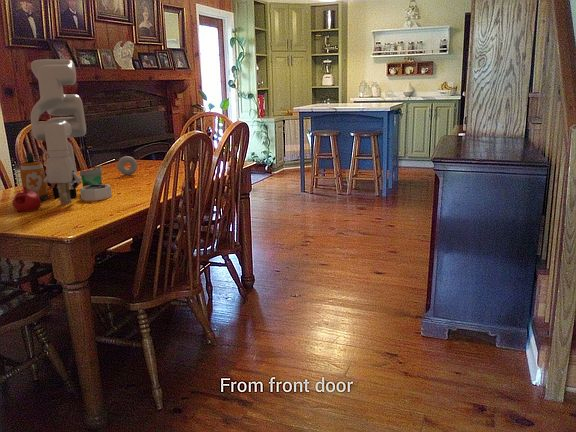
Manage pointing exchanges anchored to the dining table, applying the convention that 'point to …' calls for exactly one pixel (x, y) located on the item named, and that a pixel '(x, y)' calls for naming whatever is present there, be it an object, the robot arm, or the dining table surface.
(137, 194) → the dining table surface
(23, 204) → the pomegranate
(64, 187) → the grey rectangular block
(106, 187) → the white octagonal tray
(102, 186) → the hollow square tube
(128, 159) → the donut
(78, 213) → the dining table surface
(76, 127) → the robot arm
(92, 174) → the food container
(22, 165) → the canister
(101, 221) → the dining table surface
